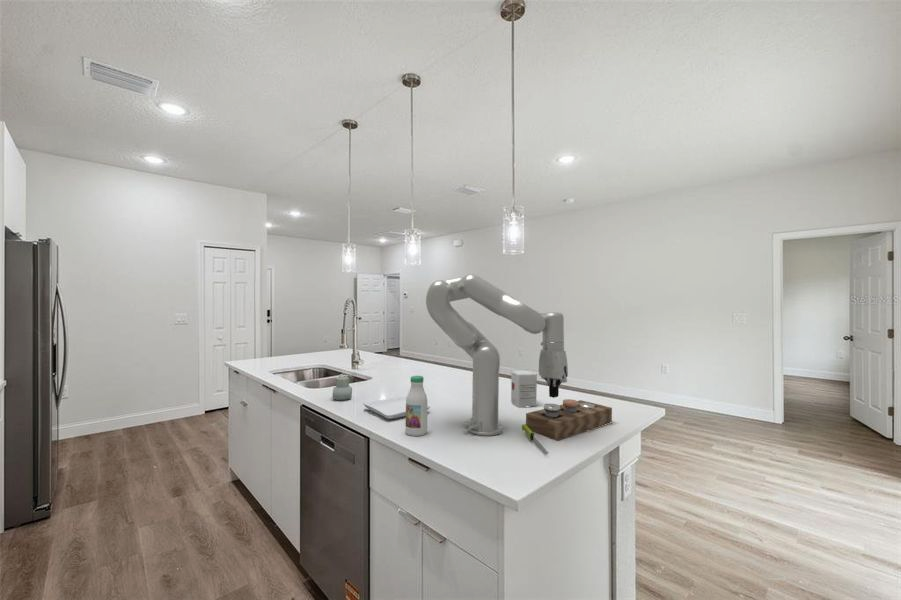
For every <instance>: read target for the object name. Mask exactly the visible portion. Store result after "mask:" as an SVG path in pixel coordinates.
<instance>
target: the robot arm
mask: <svg viewBox="0 0 901 600" xmlns="http://www.w3.org/2000/svg"><path fill="white" fill-rule="evenodd" d="M464 299H465V300H467V299H470V300H473V302H476V303H477V304H479V305H480V306H482V307H484V308H485V309H486V310H489V311H491V313H494V314H495V315H497V316H500V317H503V318H505V319H506V320H508V321H510V322H512V323H513V324H515V325H516V326H518V327H520V328H522V329H523V330H524V331H525V332H527V333H529V334H533V335H537V334H541V333H542V341H541V343H540V346H542V348H541V349H540V353H539V358H538V375H539V377H540V378H541V379H542V380H544V381H545V382H546V383H547V386H548V394H549V395H548V396H549V398H553V399H554V398H558V397H559V395H560V394H559V391H560V390H559V386H561V384H562V383H563V384H565V383H567V382H568V377H569V376H568V375H569V366H568V358H567V354H566V350H565V338H564V337H565V332H564V329H565V328H564V327H565V323H564V321H565V320H564V315H563V313H561V312H557V311H556V312H550V311H549V312H544V313H542V312H539V311H537V310H535V309H533V308H532V307H530V306H528V305H527V304H525V303H523V302H521V301H519V300H518V299H516V298H514V297H513V296H511V295H510V294H508V293H507V292H505V291H504V290H502V289H500V288H499V287H497V286H496V285H493V284H492V283H490V282H488V281H487V280H485V279H484V278H482V277H480V276H479V275H476V274H474V273H469V274H467V275H464V276H462V277H458V278H453V279H448V280H443V279H439V280H435V281H433V282H432V283H431V284H430V285H429V287H428V290H427V293H426V297H425V305H426V309H427V313H428V315H429V316H430V318H431V319H432V320H433V322H434V323H436V325H438V327H439V328H440V329H441V330H442V331H443V332H444V333H445V334H446V335H447V336H448V337H449V338H450V339H451V340H452V341H453V343H454V344H455V345H456V346H457V347H459V348H461V349H462V350H463V351H464V352H465V353H466V354H467V355H468V356H469V357H470V358H471V359H472V397H471V398H472V402H471V403H472V405H471V406H472V407H471V408H472V409H471V413H472V415H471V416H472V417H470V418H469V421H468V422H463V423H461V428H462V429H463V430H464V429H467V431H468V432H469V433H471V434H474V435H476V436H477V435H478V436H484V437H486V436H487V437H488V436H498V435H499V434H501V433H502V432H503V427H502V425H501V424H499V391H500V390H499V388H500V387H499V386H500V385H499V384H500V383H499V381H500V378H499V377H500V367H501V366H500V364H501V363H500V362H501V361H500V360H501V357H500V353H499V351H498V349H497V347H495V345H494V344H493V343H492V342H491V341H490V340H489V339H488V338H487V337H486V336H485V335H484V334H482V332H480V330H478V328H477V327H476V326H474V324H472V323H471V322H468V321H467V320H466V318H464V317H463V316H462V315H460V313H459V311H457V310H456V308H454V307H453V306H452V304H451V302H455V301H460V300H464Z"/></svg>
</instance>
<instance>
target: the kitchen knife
mask: <svg viewBox="0 0 901 600" xmlns="http://www.w3.org/2000/svg"><path fill="white" fill-rule="evenodd" d="M521 428H522V429H521V430H522V431H524V432H525V434H526V435H528V441H529V442H532V444H534V446H536V448H538V449H539V450H540V452H541V453H542V454H544V455H548V454H549V451H548V450H547V449H546V447H544V446H543V445H542V443H541V442H540V441H539V440H538V439H537V437H536V436H535V433H534V432H532V431H531V430H530V429H529V427H528V426H527V425H526V423H524V424H522V425H521Z"/></svg>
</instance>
